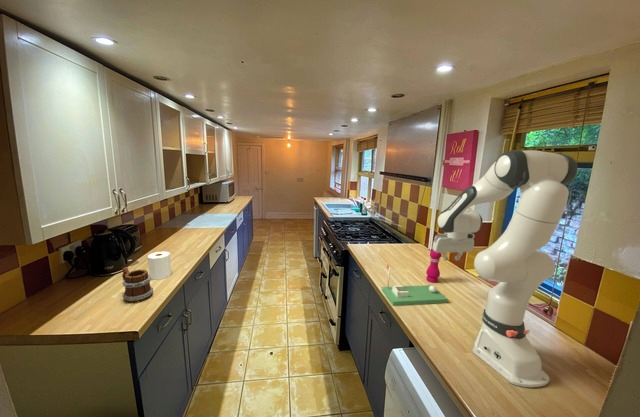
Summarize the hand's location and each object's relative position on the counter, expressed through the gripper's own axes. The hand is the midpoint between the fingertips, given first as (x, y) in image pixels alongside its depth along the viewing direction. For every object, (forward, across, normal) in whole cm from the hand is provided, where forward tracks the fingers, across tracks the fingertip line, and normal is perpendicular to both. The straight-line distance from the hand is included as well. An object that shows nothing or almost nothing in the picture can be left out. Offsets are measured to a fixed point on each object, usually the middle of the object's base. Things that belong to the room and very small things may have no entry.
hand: (451, 260), depth 130 cm
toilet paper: (+19, -150, +33) cm, 155 cm away
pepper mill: (+19, +2, +16) cm, 25 cm away
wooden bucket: (+19, -152, +11) cm, 153 cm away
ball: (+15, -8, 0) cm, 17 cm away
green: (+19, -18, 0) cm, 26 cm away
